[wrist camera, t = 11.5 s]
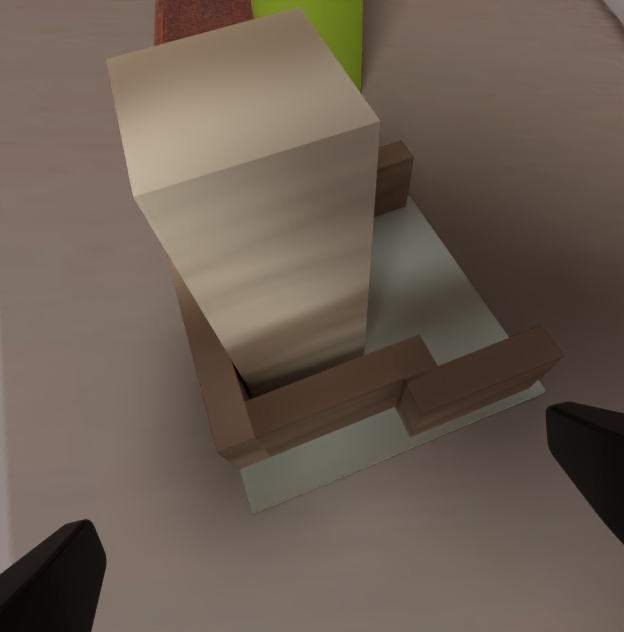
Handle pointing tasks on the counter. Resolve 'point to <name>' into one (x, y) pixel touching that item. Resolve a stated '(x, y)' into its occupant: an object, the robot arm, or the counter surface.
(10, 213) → the counter surface
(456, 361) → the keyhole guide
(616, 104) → the counter surface
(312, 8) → the soap dispenser
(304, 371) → the birch post
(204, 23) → the wooden tablet
